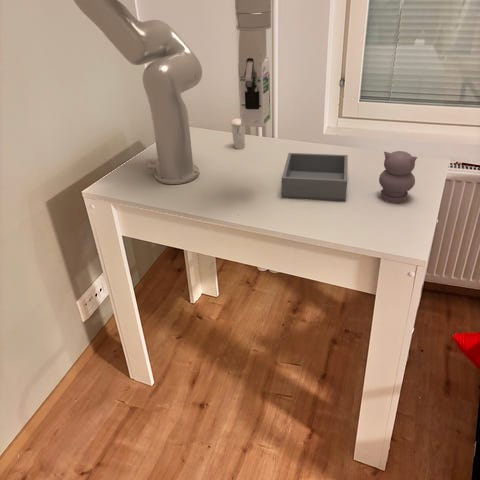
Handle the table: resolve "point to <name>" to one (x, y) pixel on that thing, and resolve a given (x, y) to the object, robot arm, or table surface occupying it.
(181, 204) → the table surface
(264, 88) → the syrup box
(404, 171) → the cat figurine
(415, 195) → the table surface
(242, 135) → the milkshake
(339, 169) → the bin
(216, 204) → the table surface
